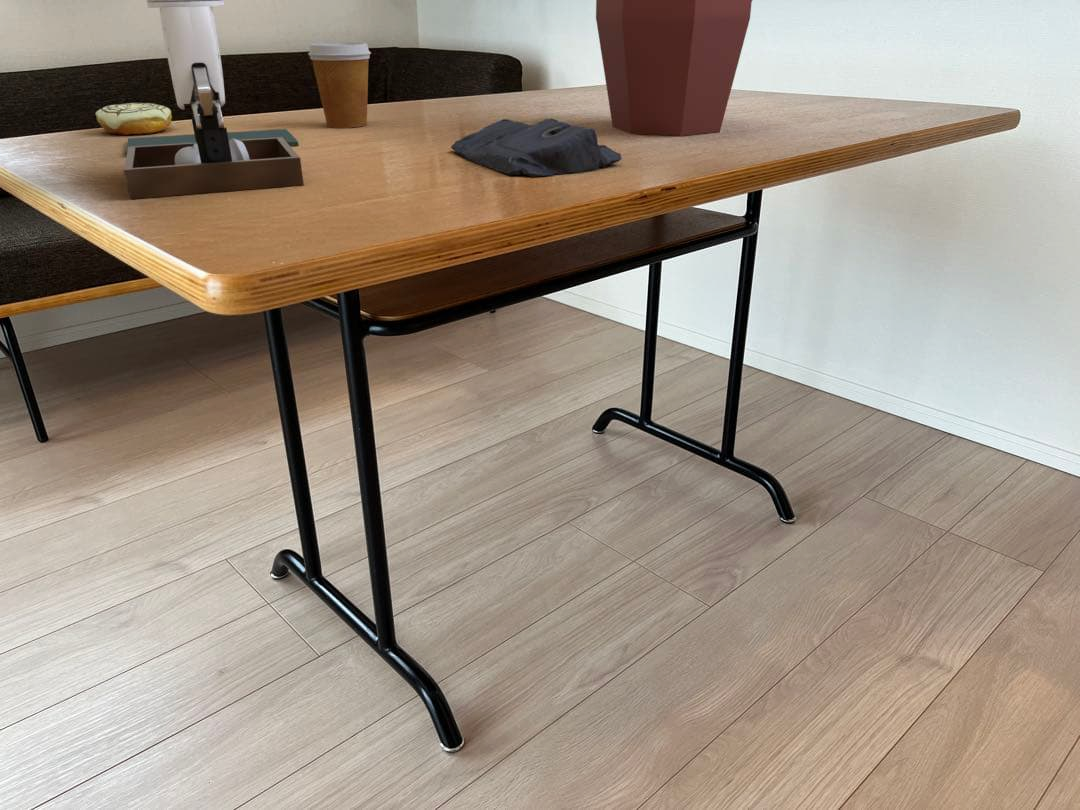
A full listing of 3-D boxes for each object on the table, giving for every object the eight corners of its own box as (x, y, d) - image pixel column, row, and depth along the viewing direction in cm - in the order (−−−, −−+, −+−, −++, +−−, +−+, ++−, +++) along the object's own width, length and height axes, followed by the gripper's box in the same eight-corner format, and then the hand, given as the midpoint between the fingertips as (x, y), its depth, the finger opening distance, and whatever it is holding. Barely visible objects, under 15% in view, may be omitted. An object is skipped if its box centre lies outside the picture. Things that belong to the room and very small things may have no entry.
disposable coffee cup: (361, 119, 139) (353, 41, 134) (387, 125, 133) (380, 44, 127) (307, 124, 134) (297, 43, 129) (331, 131, 127) (322, 46, 122)
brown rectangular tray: (130, 199, 86) (123, 169, 85) (133, 172, 99) (128, 146, 97) (303, 185, 92) (300, 157, 91) (285, 161, 105) (282, 136, 103)
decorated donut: (109, 138, 122) (103, 111, 120) (94, 130, 130) (88, 104, 128) (182, 131, 128) (177, 105, 126) (163, 123, 135) (158, 99, 134)
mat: (126, 157, 108) (124, 152, 108) (128, 142, 119) (127, 138, 119) (298, 145, 116) (298, 141, 115) (286, 132, 126) (286, 128, 126)
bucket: (775, 128, 128) (796, -58, 116) (686, 145, 114) (700, -63, 103) (651, 114, 144) (660, -51, 132) (560, 127, 130) (561, -55, 119)
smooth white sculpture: (181, 195, 93) (177, 173, 96) (255, 187, 96) (248, 166, 99) (173, 159, 90) (169, 138, 93) (250, 152, 93) (243, 131, 96)
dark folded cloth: (543, 141, 118) (542, 106, 116) (630, 167, 100) (632, 126, 98) (443, 151, 111) (440, 113, 109) (518, 179, 94) (518, 136, 92)
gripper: (145, -8, 93) (178, 150, 100) (143, -8, 78) (181, 176, 86) (216, -9, 95) (243, 145, 103) (227, -10, 81) (256, 169, 89)
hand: (215, 159), depth 94 cm, fingers open, 9 cm apart
